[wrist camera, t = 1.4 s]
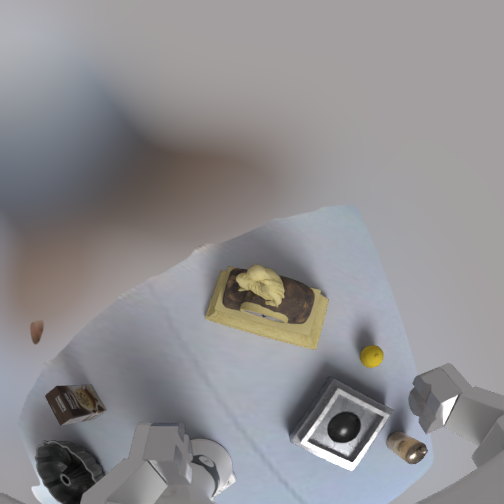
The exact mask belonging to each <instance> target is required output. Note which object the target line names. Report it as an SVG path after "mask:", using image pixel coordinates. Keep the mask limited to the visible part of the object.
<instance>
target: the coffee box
mask: <svg viewBox="0 0 504 504" xmlns="http://www.w3.org/2000/svg"><path fill="white" fill-rule="evenodd" d="M45 397H46V399H47V401H48V403H49V405H50V407H51V409H52V411H53V412H54V414H55V416H56V418H57V420H58V422H59V423H60V425H61V426H62V425H67V424H73V423H77V422H82V421H87V420H92V419H95V418H97V417H98V416H100V415H101V414H103V413H104V412H105V411H106V409H105V407H104V405H103V404H102V402H101V400H100V399H99V397H98V395H97V394H96V392H95V390H94V389H93V387H92V385H71V386H56V387H55V388H54V389H53V390H51V391H50V392H49V393H48V394H46V395H45Z"/></svg>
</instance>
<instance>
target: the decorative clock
mask: <svg viewBox="0 0 504 504" xmlns="http://www.w3.org/2000/svg"><path fill="white" fill-rule="evenodd" d="M320 293H321V290H318V289H314V288H310V287H307V286H306V285H305V284H303V283H301V282H299V281H296V280H293V279H290V278H287V277H283V276H280V275H278V274H277V273H275V272H274V271H273V270H272V269H270V268H264V267H262V266H261V265H258V264H256V265H253V266H252V267H250V268H249V269H248V270H245V269H238V268H234V267H230V266H228V269H227V271H221V272H220V275H219V278H218V281H217V284H216V287H215V290H214V293H213V296H212V299H211V302H210V305H209V308H208V311H207V314H206V318H205V319H207V320H210V321H213V322H216V323H220V324H223V325H226V326H229V327H233V328H236V329H239V330H243V331H246V332H250V333H253V334H256V335H260V336H264V337H267V338H271V339H275V340H278V341H282V342H286V343H290V344H294V345H297V346H301V347H305V348H309V349H314V350H316V348H317V345H318V341H319V337H320V333H321V330H322V326H323V322H324V318H325V314H326V310H327V305H328V301H329V299H327V298H326V297H324V296H322V295H321V294H320Z"/></svg>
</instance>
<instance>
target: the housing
mask: <svg viewBox="0 0 504 504" xmlns="http://www.w3.org/2000/svg"><path fill="white" fill-rule="evenodd" d="M393 411H394V410H393V409H391V408H389V407H387V406H385V405H383V404H381V403H379V402H377V401H375V400H373V399H371V398H369V397H367V396H365V395H364V394H362V393H360V392H358V391H356V390H354V389H352V388H350V387H349V386H347V385H345V384H343V383H341V382H339V381H338V380H336V379H334V378H332V377H329V378H328V379H327V381H326V382H325V384H324V386H323V387H322V389H321V390H320V392H319V393H318V395H317V396H316V398H315V399H314V401H313V402H312V404H311V405H310V407H309V408H308V410H307V411H306V413H305V414H304V415H303V417H302V418H301V420H300V421H299V422H298V424H297V425H296V427H295V428H294V429H293V431H292V432H291V433H290V435H289V438H290V442H291V443H293V444H295V445H297V446H299V447H301V448H303V449H305V450H307V451H309V452H311V453H313V454H315V455H317V456H319V457H321V458H323V459H326V460H328V461H330V462H332V463H334V464H337V465H339V466H341V467H344V468H346V469H348V470H351V471H353V469H354V468H355V467H356V466H357V464H358V463H359V462H360V460H361V459H362V458H363V456H364V455H365V453H366V452H367V451H368V449H369V448H370V446H371V445H372V443H373V442H374V440H375V439H376V438H377V436H378V435H379V433H380V431H381V430H382V428H383V427H384V425H385V424H386V422H387V420H388V419H389V417H390V416H391V414H392V412H393Z"/></svg>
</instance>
